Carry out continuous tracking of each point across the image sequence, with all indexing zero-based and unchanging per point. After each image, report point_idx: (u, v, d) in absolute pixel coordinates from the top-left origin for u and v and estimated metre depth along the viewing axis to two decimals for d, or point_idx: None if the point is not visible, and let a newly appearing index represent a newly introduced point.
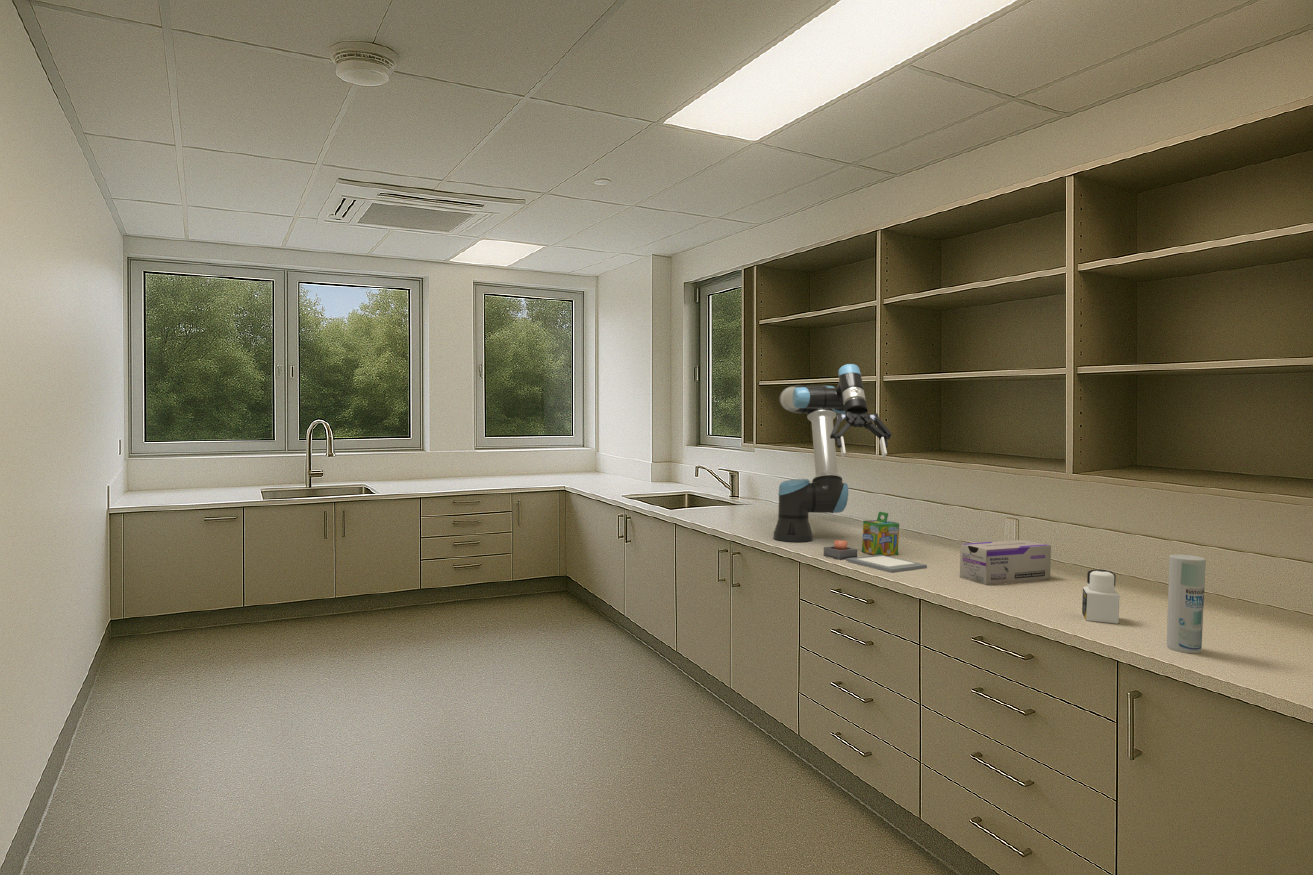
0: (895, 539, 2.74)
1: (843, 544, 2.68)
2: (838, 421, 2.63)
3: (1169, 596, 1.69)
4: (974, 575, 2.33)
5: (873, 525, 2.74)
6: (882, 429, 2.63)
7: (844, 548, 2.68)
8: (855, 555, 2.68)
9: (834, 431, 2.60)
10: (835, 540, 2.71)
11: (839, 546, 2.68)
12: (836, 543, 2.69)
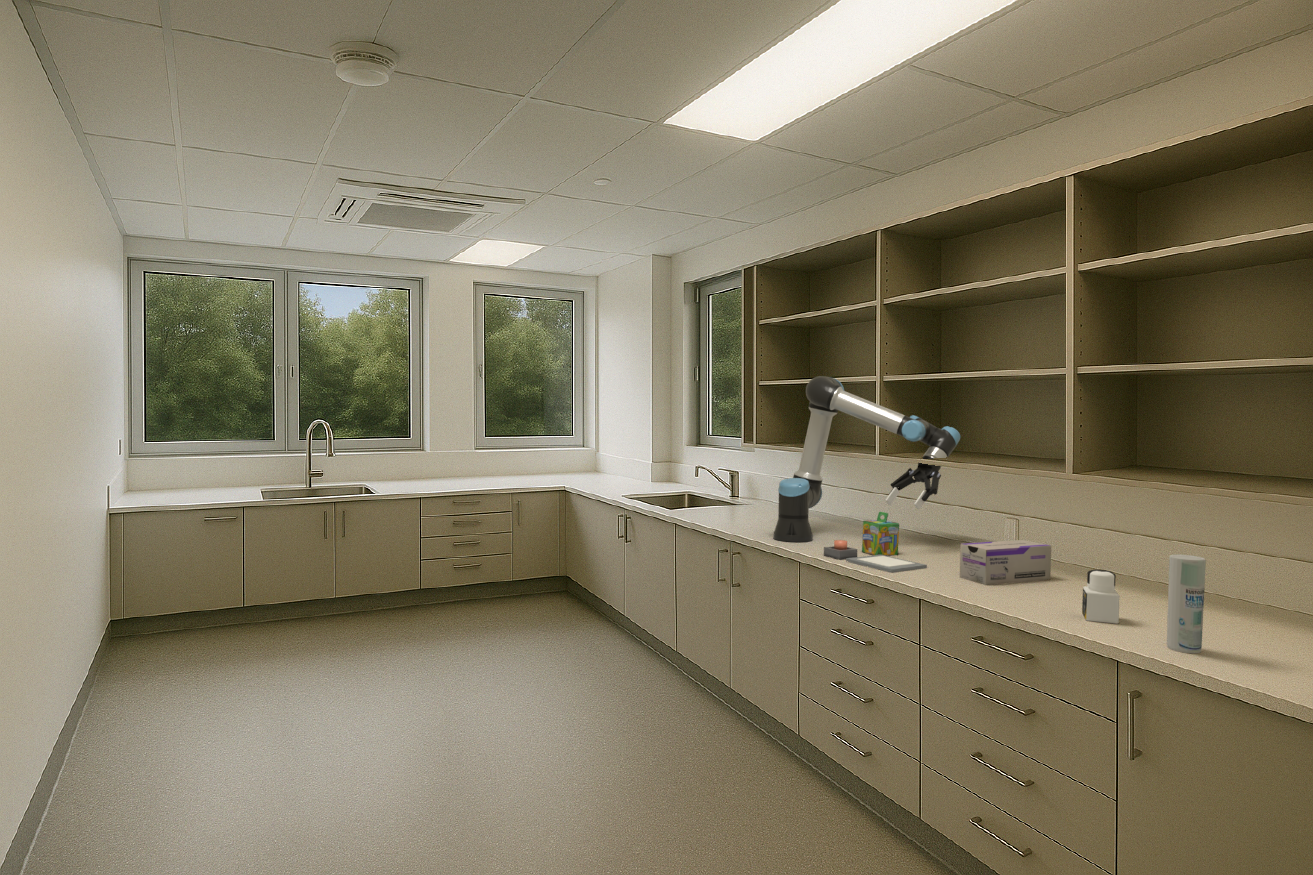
0: (895, 539, 2.74)
1: (843, 544, 2.68)
2: None
3: (1169, 596, 1.69)
4: (974, 575, 2.33)
5: (873, 524, 2.74)
6: None
7: (844, 548, 2.68)
8: (855, 555, 2.68)
9: None
10: (835, 540, 2.71)
11: (839, 546, 2.68)
12: (836, 543, 2.69)
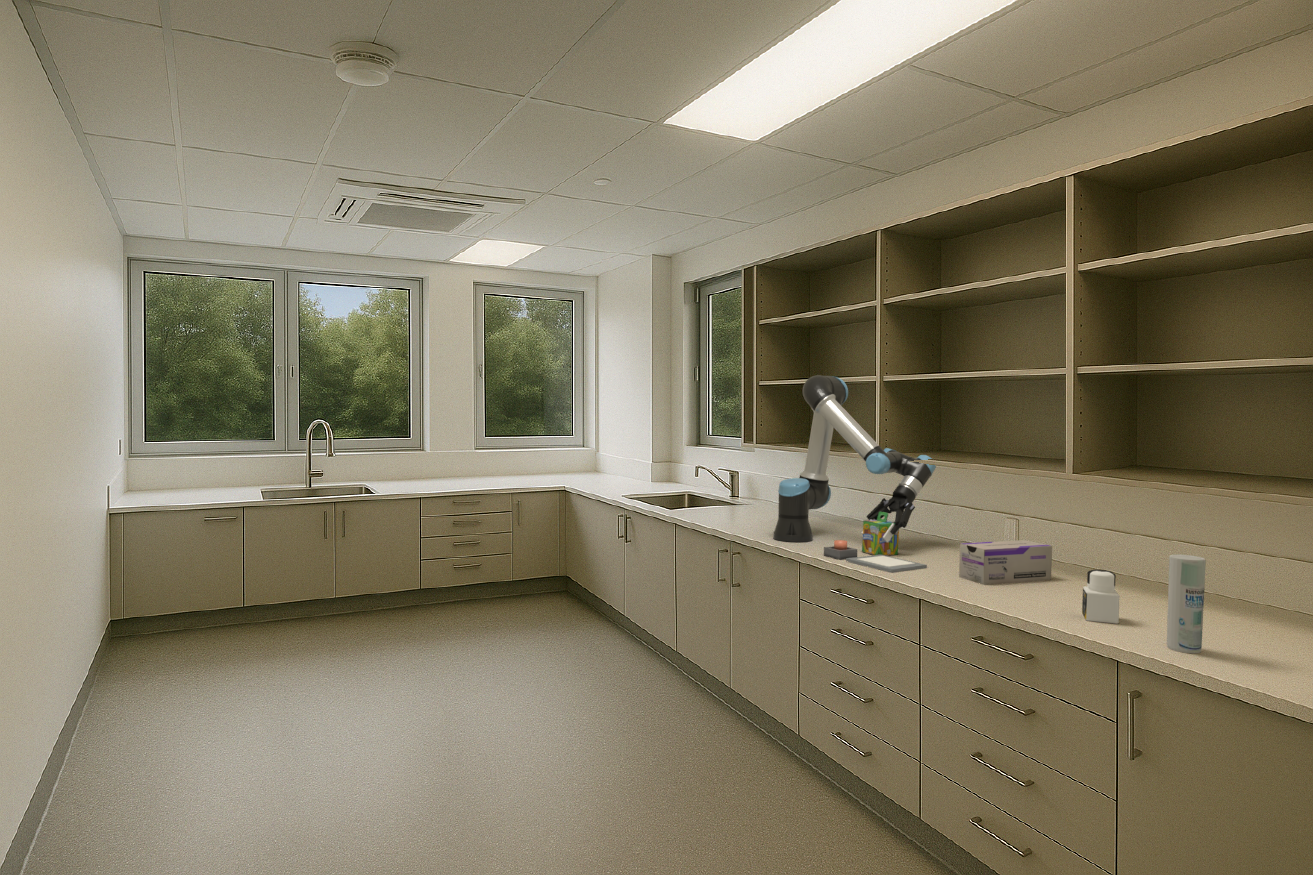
0: (895, 539, 2.74)
1: (843, 544, 2.68)
2: None
3: (1169, 596, 1.69)
4: (973, 575, 2.34)
5: (873, 524, 2.74)
6: None
7: (844, 548, 2.68)
8: (855, 555, 2.68)
9: None
10: (835, 540, 2.71)
11: (839, 546, 2.68)
12: (836, 543, 2.69)
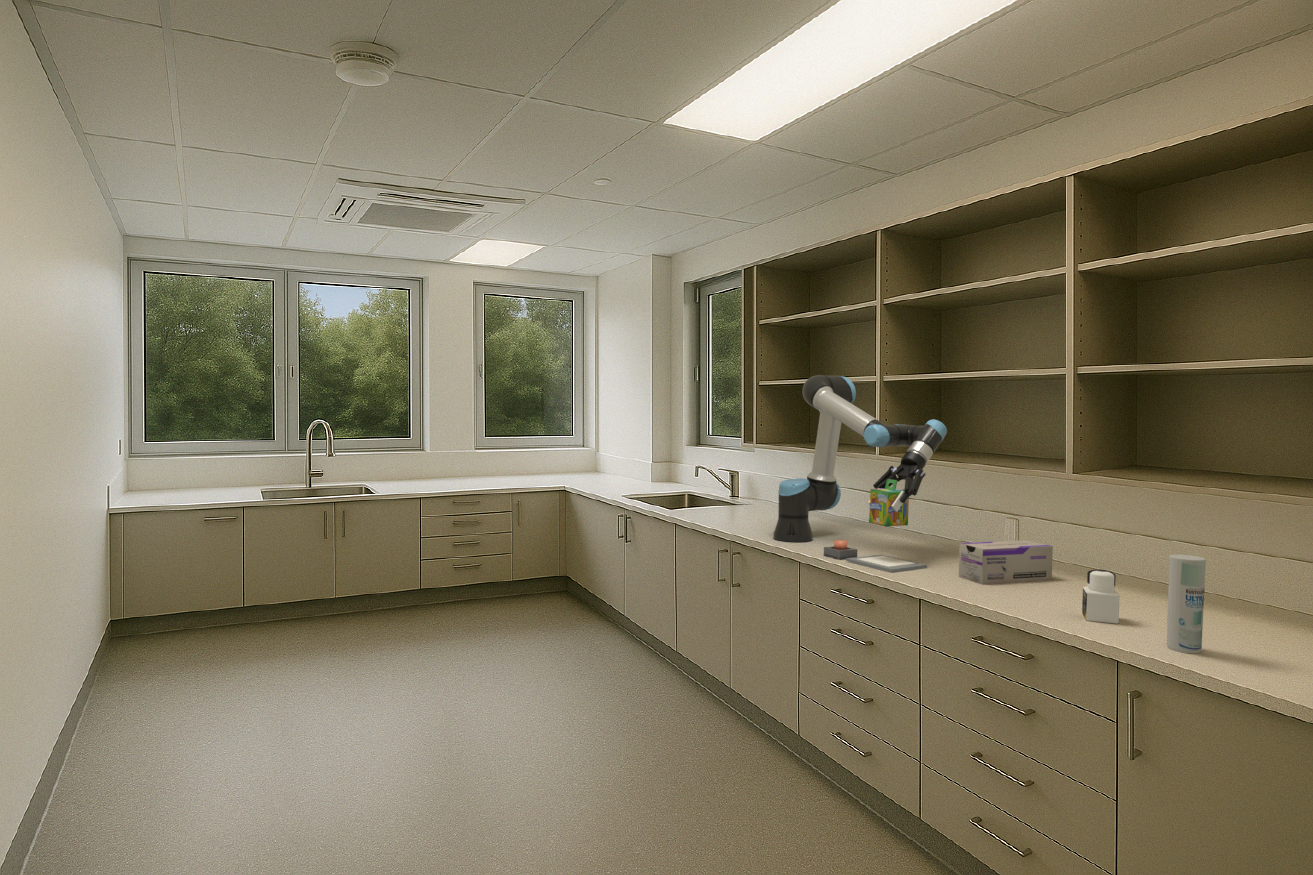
0: (905, 508, 2.55)
1: (843, 544, 2.68)
2: None
3: (1169, 596, 1.69)
4: (972, 575, 2.34)
5: (881, 493, 2.55)
6: None
7: (844, 548, 2.68)
8: (855, 555, 2.68)
9: None
10: (835, 540, 2.71)
11: (839, 546, 2.68)
12: (836, 543, 2.69)
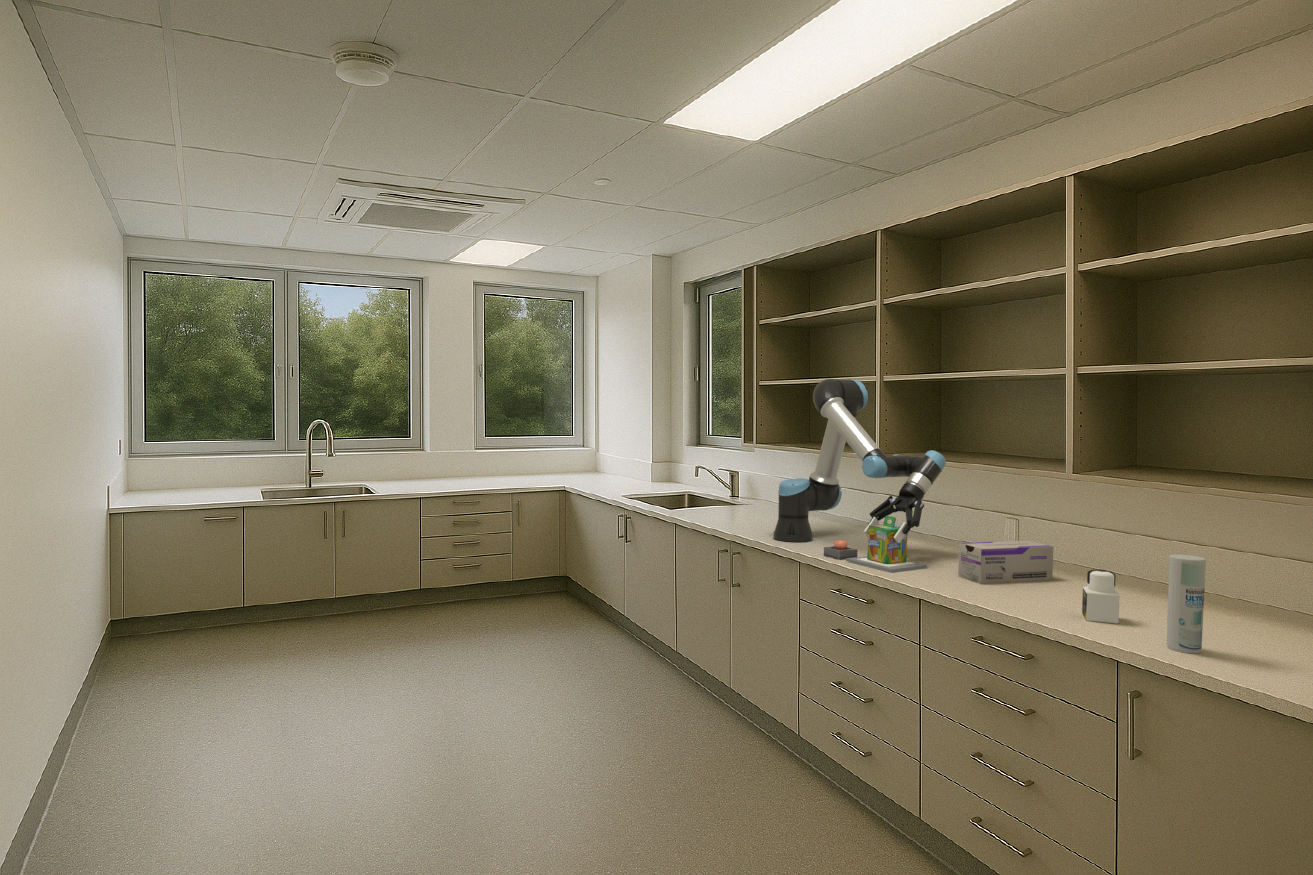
0: (903, 545, 2.54)
1: (843, 544, 2.68)
2: None
3: (1169, 596, 1.69)
4: (970, 574, 2.34)
5: (880, 530, 2.54)
6: None
7: (844, 548, 2.68)
8: (855, 555, 2.68)
9: None
10: (835, 540, 2.71)
11: (839, 546, 2.68)
12: (836, 543, 2.69)
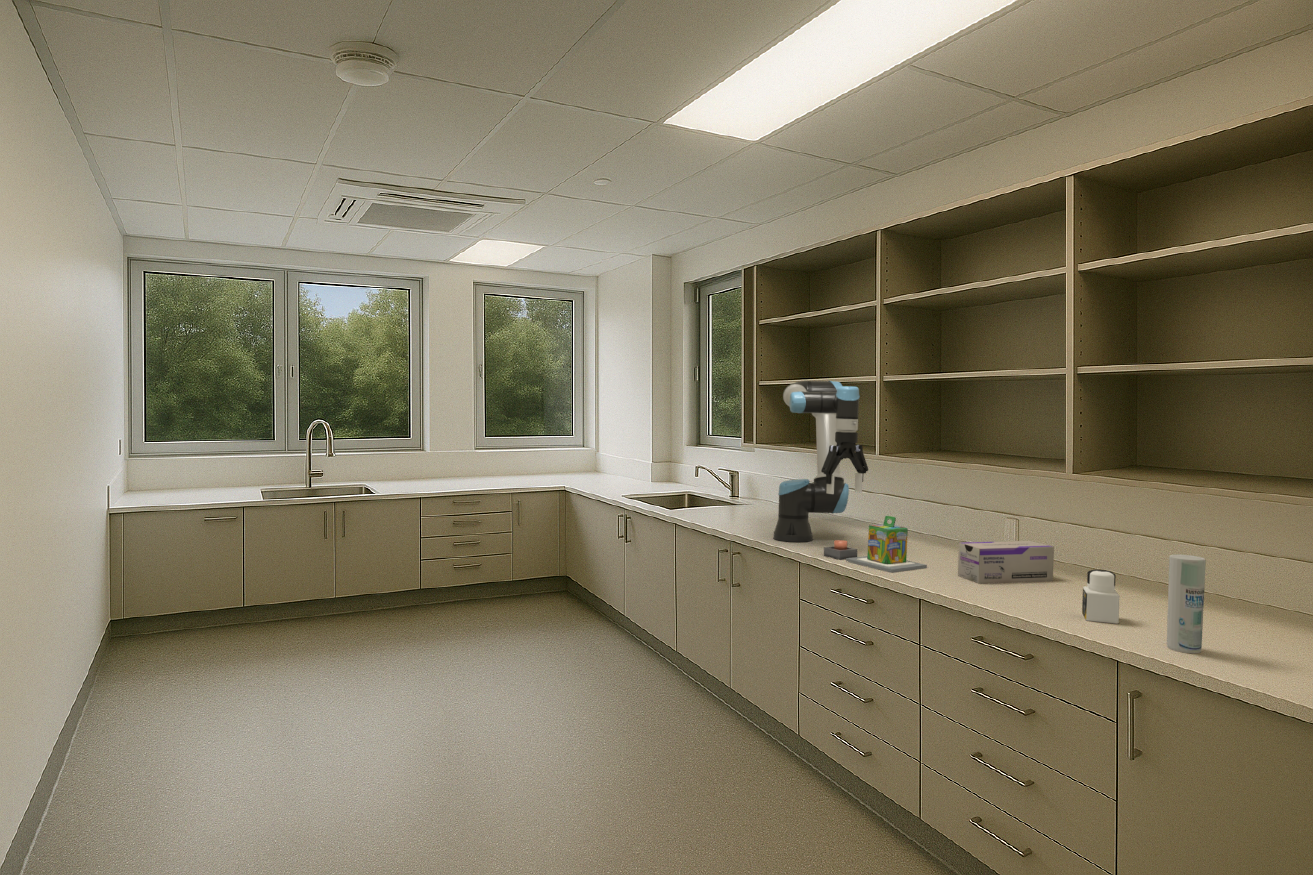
0: (903, 545, 2.54)
1: (843, 544, 2.68)
2: (833, 456, 2.64)
3: (1169, 596, 1.69)
4: (969, 574, 2.35)
5: (880, 530, 2.54)
6: (861, 462, 2.72)
7: (844, 548, 2.68)
8: (855, 555, 2.68)
9: (828, 469, 2.63)
10: (835, 540, 2.71)
11: (839, 546, 2.68)
12: (836, 543, 2.69)
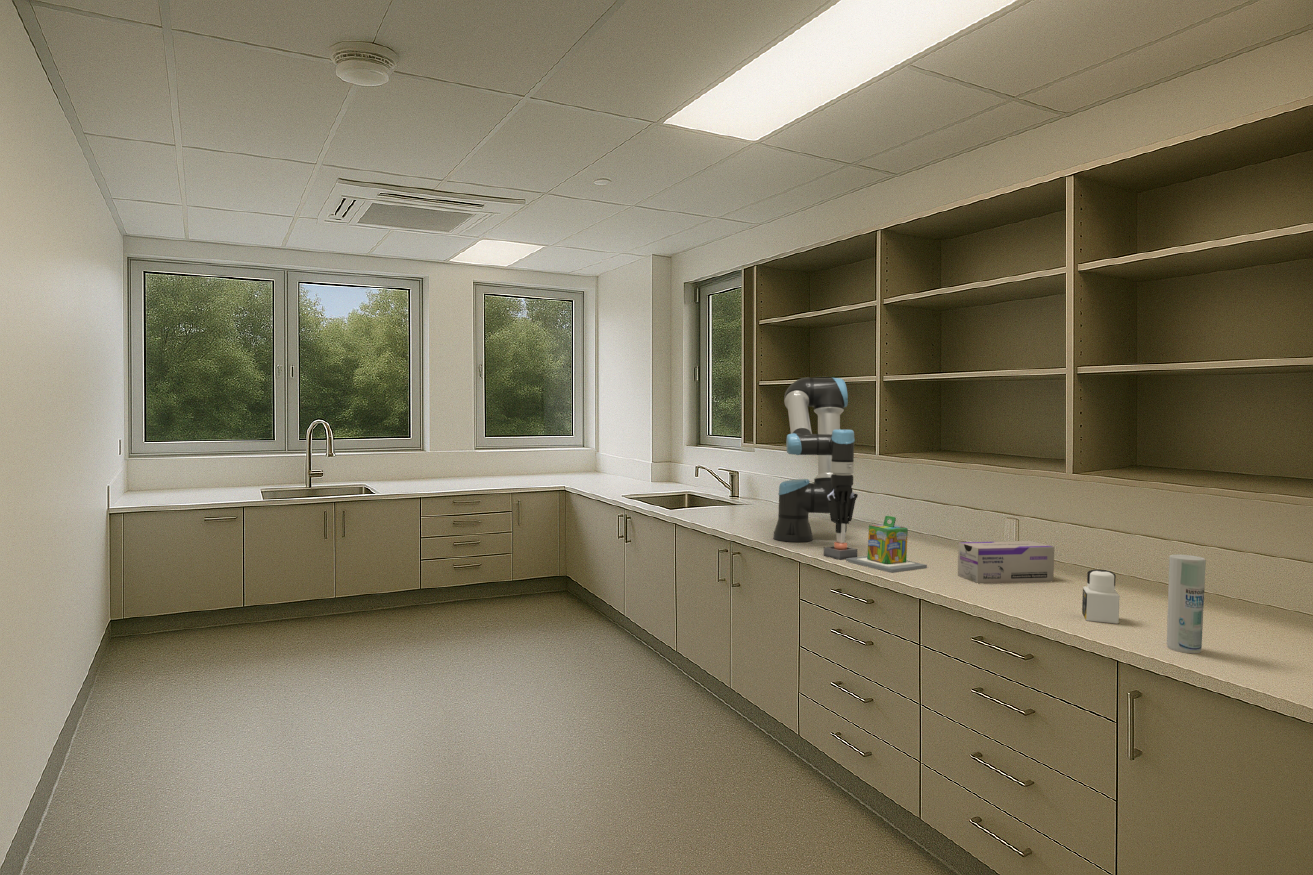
0: (903, 545, 2.54)
1: (843, 546, 2.68)
2: (834, 505, 2.66)
3: (1169, 596, 1.69)
4: (969, 574, 2.35)
5: (880, 530, 2.54)
6: (849, 510, 2.71)
7: None
8: (855, 555, 2.68)
9: (836, 518, 2.67)
10: (835, 542, 2.71)
11: (838, 547, 2.68)
12: (836, 545, 2.69)
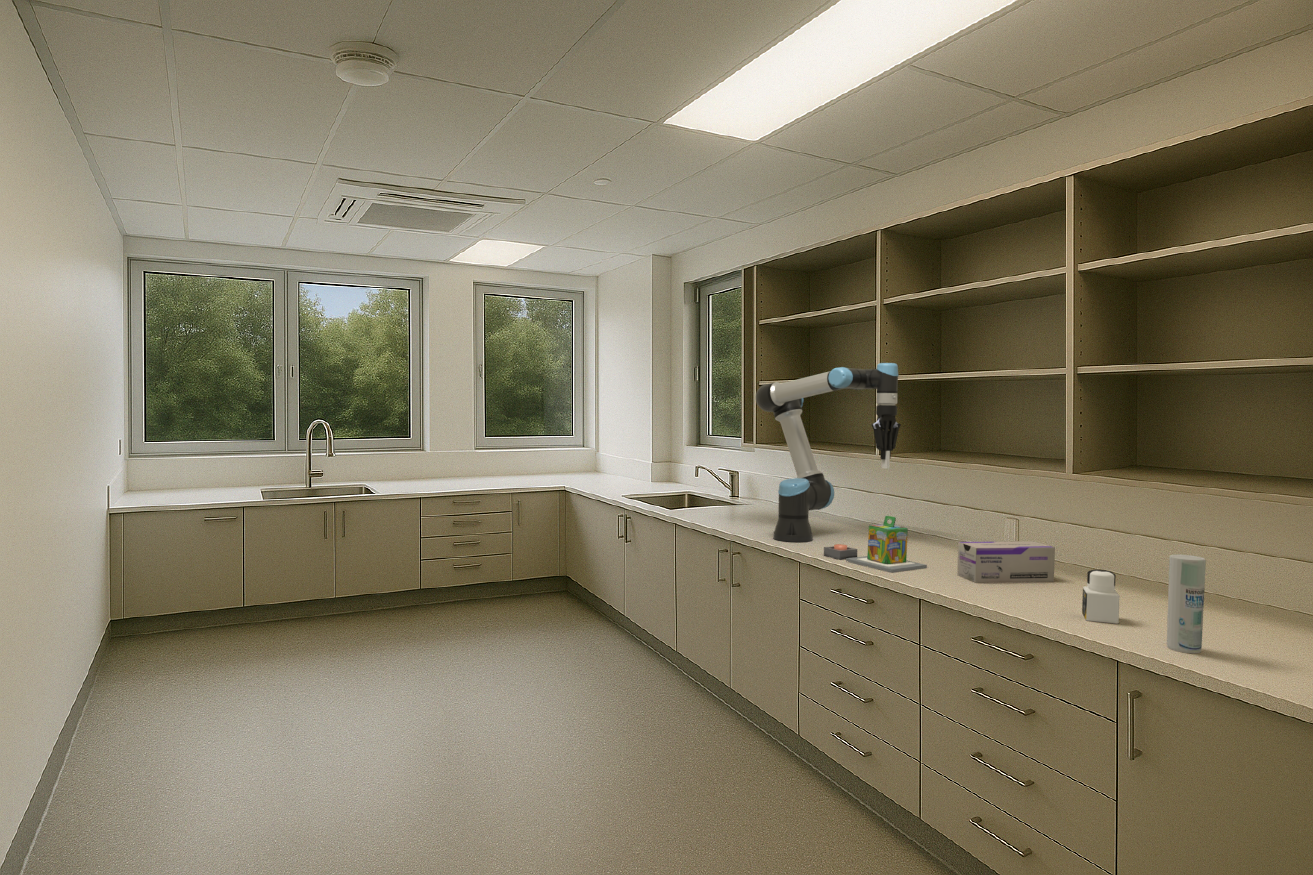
0: (903, 545, 2.54)
1: (843, 548, 2.68)
2: (880, 433, 2.87)
3: (1169, 596, 1.69)
4: (967, 573, 2.36)
5: (880, 530, 2.54)
6: (892, 439, 2.91)
7: None
8: (855, 555, 2.68)
9: (882, 445, 2.87)
10: (835, 544, 2.71)
11: None
12: (836, 547, 2.69)
